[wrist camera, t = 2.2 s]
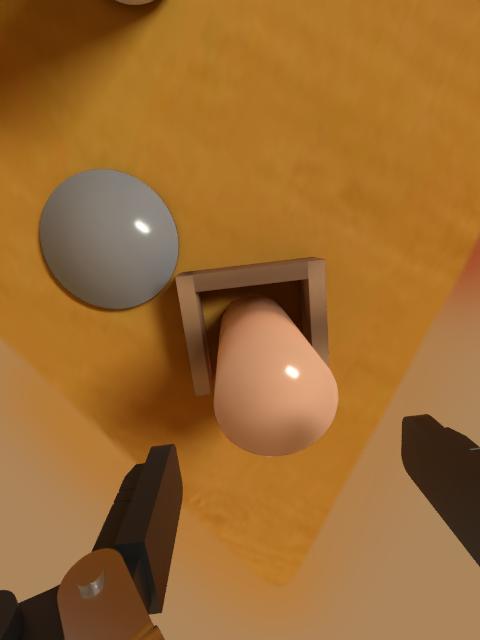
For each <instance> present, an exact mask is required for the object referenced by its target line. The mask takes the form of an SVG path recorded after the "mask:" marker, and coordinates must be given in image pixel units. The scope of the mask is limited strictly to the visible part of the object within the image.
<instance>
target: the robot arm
mask: <svg viewBox="0 0 480 640" xmlns="http://www.w3.org/2000/svg"><path fill="white" fill-rule="evenodd" d="M401 449H402V450H401V451H402V452H401V456H402V461H403V465H404V467H405V470H406V472H407V473H408V475H409V476H410V477H411V479H412V480H413V481H414V483H415V484H416V485H417V486H418V487H419V489H420V490H421V492H422V493H423V494H424V495H425V497H426V498H427V499H428V500H429V502H430V503H431V504H432V505H433V507H434V508H435V510H436V511H437V512H438V513H439V515H440V516H441V517H442V518H443V520H444V521H445V522H446V524H447V525H448V526H449V528H450V529H451V530H452V532H453V533H454V534H455V535H456V537H457V538H458V539H459V541H460V542H461V543H462V544H463V546H464V547H465V548H466V549H467V551H468V552H469V553H470V555H471V556H472V557H473V559H474V560H475V561H476V562H477V564H478V565H479V566H480V447H479V446H477V445H476V444H475V443H474V442H473V441H471V440H470V439H469V438H467V436H464V435H463V434H461V433H459V432H457V431H455V430H453V429H451V428H449V427H447V428H444V427H443V426H442V425H441V424H439V423H438V422H437V421H436V420H435V419H434V418H433V417H431V416H430V415H428V414H424V415H417V416H407V417H404V418H403V421H402V448H401ZM182 496H183V486H182V478H181V473H180V468H179V463H178V457H177V452H176V448H175V445H174V444H170V445H162V446H153V447H151V449H150V452H149V454H148V457H147V459H146V462H145V463H143V464H136V465H135V466H134V467H133V468H132V470H131V471H130V472H129V473H128V474H127V475H126V476H125V478H124V480H123V482H122V485H121V487H120V489H119V493H118V494H117V496H116V498H115V500H114V505H112V507H111V509H110V512H109V514H108V516H107V518H106V521H105V523H104V525H103V527H102V530H101V532H100V534H99V536H98V539H97V541H96V543H95V545H94V548H93V550H92V552H91V553H89V554H88V555H86V556H84V557H83V558H81V559H80V560H79V561H78V562H77V563H75V565H73V566H72V567H71V569H70V570H69V571H68V572H67V574H66V575H65V577H64V578H63V580H62V582H61V584H60V585H58V586H56V587H54V588H52V589H50V590H48V591H45V592H43V593H41V594H39V595H36V596H34V597H32V598H29V599H27V600H25V601H23V602H20V603H18V602H17V600H16V597H15V595H14V594H13V593H12V592H10V591H7V590H0V640H165V639H164V637H163V635H162V633H161V631H160V630H159V628H158V627H157V626H154V625H153V623H152V622H151V619H150V617H149V614H157V613H162V609H163V604H164V598H165V592H166V587H167V581H168V576H169V570H170V565H171V559H172V554H173V548H174V543H175V537H176V532H177V526H178V520H179V515H180V510H181V504H182Z"/></svg>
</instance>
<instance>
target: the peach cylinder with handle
mask: <svg viewBox="0 0 480 640" xmlns="http://www.w3.org/2000/svg"><path fill="white" fill-rule="evenodd" d="M337 405H338V389H337V385H336V381H335V379H334V376H333V374H332V372H331V371H330V369H329V368H328V366H327V365H326V364H325V363H324V361H323V360H322V359H321V357H320V356H319V355H318V354H317V352H316V351H315V350H314V348H313V347H312V346H311V345H310V343H309V342H308V341H307V340H306V338H305V337H304V336H303V334H302V333H301V332H300V331H299V329H298V328H297V327H296V326H295V324H294V323H293V322H292V320H291V319H290V318H289V317H288V315H287V314H286V313H285V311H284V310H283V309H282V308H281V306H280V305H279V304H278V303H277V302H275V301H274V300H273V299H271V298H269V297H266V296H263V295H256V294H254V295H246V296H243V297H241V298H238V299H237V300H235V301H234V302H232V303H231V304H230V305H229V306H228V307H227V309H226V310H225V312H224V314H223V316H222V319H221V325H220V336H219V347H218V358H217V370H216V381H215V392H214V412H215V416H216V420H217V422H218V425H219V426H220V428H221V430H222V431H223V433H224V434H225V435H226V437H227V438H228V439H229V440H230V441H231V442H233V443H234V444H235V445H237V446H238V447H240V448H242V449H243V450H246V451H248V452H250V453H254V454H257V455H263V456H265V458H266V457H274V456H283V455H289V454H292V453H295V452H298V451H300V450H303V449H305V448H306V447H308V446H310V445H311V444H313V443H314V442H316V441H317V440H318V439H319V438H320V437H321V436H322V435H323V434H324V433H325V432H326V430H327V429H328V428H329V426H330V425H331V423H332V421H333V419H334V416H335V413H336V410H337Z"/></svg>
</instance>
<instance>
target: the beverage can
mask: <svg viewBox="0 0 480 640" xmlns="http://www.w3.org/2000/svg"><path fill="white" fill-rule="evenodd" d="M116 1H118V2H121V3H124V4H129V5H141V4H146V3H149V2H152V1H154V0H116Z"/></svg>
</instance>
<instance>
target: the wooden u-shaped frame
mask: <svg viewBox="0 0 480 640" xmlns="http://www.w3.org/2000/svg"><path fill="white" fill-rule="evenodd" d="M175 279H176V285H177V291H178V297H179V303H180V309H181V315H182V321H183V327H184V333H185V338H186V344H187V350H188V356H189V362H190V368H191V374H192V380H193V386H194V392H195V397H196V396H204V395H211V388H212V380H213V376H212V369H211V362H210V356H209V349H208V342H207V336H206V329H205V322H204V315H203V309H202V302H201V295H200V292H201V291H209V290H218V289H226V288H235V287H243V286H252V285H260V284H269V283H277V282H286V281H294V280H299V283H300V299H301V315H302V332H303V336H304V337H305V338H306V340H307V341H308V342H309V343H310V345H311V346H312V347H313V348H314V350H315V351H316V352H317V354H318V355H319V356H320V357H321V359H322V360H323V361H324V363H325V364H326V365H327V366H328V368H329V352H328V326H327V300H326V275H325V259H320V258H315V257H310V258H301V259H292V260H284V261H275V262H267V263H258V264H250V265H241V266H233V267H224V268H216V269H207V270H199V271H190V272H182V273H180V274H179V275H177V276H176V277H175Z"/></svg>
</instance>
